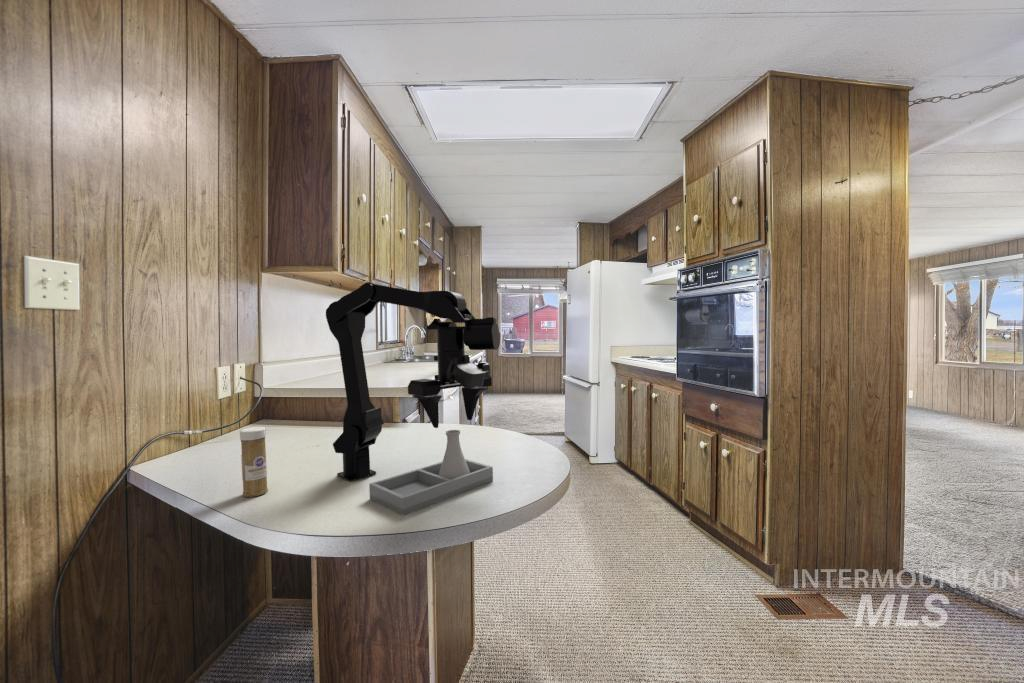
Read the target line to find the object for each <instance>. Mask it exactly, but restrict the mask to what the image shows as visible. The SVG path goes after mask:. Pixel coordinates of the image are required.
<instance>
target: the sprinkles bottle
mask: <svg viewBox="0 0 1024 683" xmlns="http://www.w3.org/2000/svg"><path fill="white" fill-rule="evenodd" d="M266 436H267V432H266V427H264V426H253V427H247V428H243V429H241V430H240V431H239V440H240V442H241V444H240V445H241V454H240V457H241V460H240V461H241V480H242V491H243V492H242V496H243V497H247V498H251V497H252V498H253V497H259V496H262V495H264V494H266V493H267V492H268V490H269V488H268V480H267V479H268V478H267V477H268V470H267V469H268V468H267V466H268V465H267V451H266Z"/></svg>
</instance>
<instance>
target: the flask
mask: <svg viewBox="0 0 1024 683" xmlns="http://www.w3.org/2000/svg"><path fill="white" fill-rule="evenodd" d="M460 434H461V430H460V429H449V430H446V431H445V436H446V441H447V442H446V449H445V452H444V455H443V459H442V461H441V462H442V465H441V468H440V471H439V476H442V477H444V478H447V479H450V480H452V479H454V478H457V477H460V476H463V475H466V474H469V473H470V471H469V468H468V466H467V463H466V461H465V459H466V458H465V456H464V452H463V451H462V447H461V442H460Z"/></svg>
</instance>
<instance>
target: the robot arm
mask: <svg viewBox="0 0 1024 683" xmlns="http://www.w3.org/2000/svg"><path fill="white" fill-rule="evenodd" d="M379 303H385V304H390V305H398V306H402V307H408V308H413V309H419V310H421V311H423V312H426V313H427V314H429V315H432V316H435V317H437V318H434V319H433V320H432V321H431V323H429V324H428V326H426V329H427V330H428V331H433V330H434V331H435V330H436V344H437V345H436V346H437V347H436V348H437V349H436V350H437V355H434V356H433V361H436V362H437V373H438V374H434V379H432V378H419V379H412V380H410V382H409V383H408V385H407V395H410V396H411V395H412V396H413V398H414V399H418V401H419V403H420V404H421V406H422V408H423V409H424V410H425V412H426V415H427V417H428V418H429V421H430V423H431V424H432V427H433V428H435V429H438V428H439V425H440V424H439V419H440V417H439V416H440V415H439V402H441V398H442V397H443V396H442V395H439V393H440V392H441V390H446V389H453V388H460V387H461V393H462V400H463V403H464V404H463V406H464V411H465V415H466V419H467V421H472V420H473V418H474V414H475V412H476V411H475V410H476V407H477V404H478V401H479V399H480V396H481V395H482V394H483V393H484V392H485V391H488V389H489V388H488V387H492V386H493V378H492V375H490V374H491V368H490V363H488V362H486V361H482V362H478V363H474V364H473V363H471V361H470V359H471V357H470V356H469V354H465V352H466V351H465V350H466V349H465V347H468V350H470V351H498V350H499V348H500V344H501V332H500V331H499V330H500V329H499V325H498V323H497V318H496V317H495V316H491V317H489V316H488V317H485V318H475V316H474V314H473V313H472V312H471V311H470V309H469V308H468V306H467V301H466V299H465V297H464V295H463V294H461V293H458V292H455V291H454V292H453V291H450V290H430V291H429V290H428V291H417V290H411V289H405V288H399V287H393V286H387V285H382V284H380V283H377V282H365V283H363V284H361V285H360V286H359V287H358V288H356V289H355V290H353V291H351V292H349V293H347V294H345V295H343V296H341V298H340V299H338V300H336V301H333V302H331V303H330V304H329V305H328V307H327V308H326V310H325V319H326V322H327V325H328V328H329V331H330V333H331V334H332V335H333V337H334V338H335V340H336V341H337V343H338V349H339V356H340V362H341V369H342V375H343V383H344V390H345V395H346V396H345V397H346V404H347V406H346V410H345V413H344V415H343V419H342V432H341V434H340V435H339V436H338V437H337V439H335V441H333V443H332V446H333V449H334V452H335V454H342V471H340V472H337V473H336V476H337V477H340V478H342V479H344V480H346V481H348V482H353V481H356V480H361V479H363V478H364V479H365V478H367V477H371V476H373V475H377V471H376V470H374V469H371V461H370V460H371V458H370V446H372V445H375V444H376V441H377V438H378V437H379V435H380V434H381V433H382V430H383V425H385V422H384V420H383V418H382V407H380V406H379V407H375V406H374V405H373V403H372V402H371V398H370V392H369V384H368V379H367V377H368V376H367V371H366V364H365V357H364V350H363V344H362V338H363V334H364V332H365V329H366V317H367V316H369V315H370V314H371V313H372V312H373V311H374V310H375V308H376V306H378V304H379ZM441 319H444V320H445V319H447V320H450V321H442V320H441ZM456 323H457V324H458V323H459V324H464V326H462V325H461V326H458V325H457V324H456Z"/></svg>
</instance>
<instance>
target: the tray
mask: <svg viewBox="0 0 1024 683" xmlns="http://www.w3.org/2000/svg"><path fill="white" fill-rule="evenodd" d="M465 461H466V463H467V466H468V468H469V471H470V473H469V474H466V475H463V476H460V477H457V478H454V479H452V480H450V479H447V478H444V477H442V476H439V471H440V468H441V465H442V462H443V461H439V462H437V463H433V464H430V465H427V466H424V467H420V468H416V469H413V470H410V471H406V472H403V473H400V474H396V475H394V476H390V477H387V478H384V479H381V480H377V481H374V482H370V483H368V484H369V487H368V488H369V499H370V500H371V501H373V502H375V503H377V504H379V505H382V506H383V507H386V508H387V509H390V510H392V511H394V512H396V513H397V514H400V515H402V516H405V515H407V514H411V513H412V512H415V511H417V510H420V509H423V508H425V507H428V506H430V505H433V504H436V503H438V502H441V501H443V500H447V499H449V498H452V497H453V496H457V495H459V494H462V493H464V492H468V491H471V490H473V489H475V488H478V487H480V486H483V485H485V484H488V483H490V482H494V472H493V470H494V469H493V466H491V465H487V464H484V463H480V462H478V461H477V462H476V461H473V460H469V459H466V458H465Z"/></svg>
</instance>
